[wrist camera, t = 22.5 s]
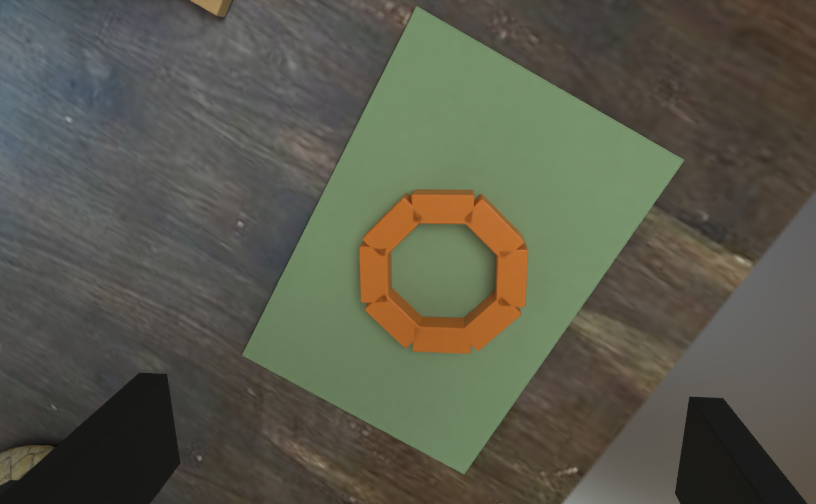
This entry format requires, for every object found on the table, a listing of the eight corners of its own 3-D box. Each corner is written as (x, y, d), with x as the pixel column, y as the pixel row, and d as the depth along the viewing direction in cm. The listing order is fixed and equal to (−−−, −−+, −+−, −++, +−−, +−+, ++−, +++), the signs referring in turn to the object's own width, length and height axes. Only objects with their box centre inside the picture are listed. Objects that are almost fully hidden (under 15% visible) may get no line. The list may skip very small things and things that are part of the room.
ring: (362, 188, 28) (356, 193, 27) (528, 189, 27) (531, 195, 26) (367, 338, 30) (362, 350, 29) (520, 344, 29) (523, 356, 28)
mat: (417, 7, 26) (416, 5, 25) (680, 158, 26) (684, 160, 26) (244, 351, 32) (241, 355, 31) (464, 469, 32) (464, 474, 32)
